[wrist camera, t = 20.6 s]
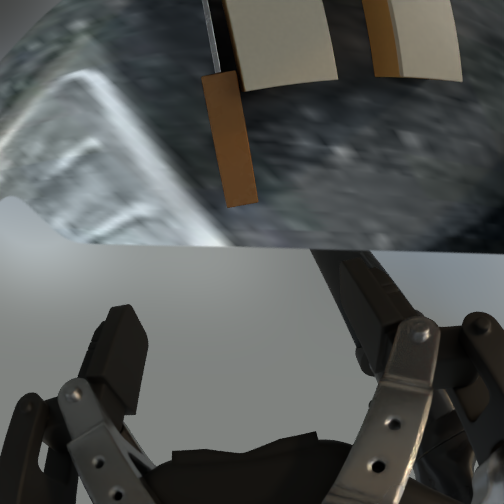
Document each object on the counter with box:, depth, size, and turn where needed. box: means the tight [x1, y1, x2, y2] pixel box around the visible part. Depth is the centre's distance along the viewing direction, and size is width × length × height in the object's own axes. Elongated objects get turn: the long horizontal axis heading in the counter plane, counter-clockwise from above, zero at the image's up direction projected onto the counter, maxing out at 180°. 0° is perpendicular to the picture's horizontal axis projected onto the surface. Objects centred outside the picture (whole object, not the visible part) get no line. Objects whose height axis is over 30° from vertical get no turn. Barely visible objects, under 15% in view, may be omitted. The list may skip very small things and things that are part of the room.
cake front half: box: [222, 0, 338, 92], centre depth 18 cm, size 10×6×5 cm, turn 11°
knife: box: [201, 0, 258, 208], centre depth 19 cm, size 22×2×4 cm, turn 9°
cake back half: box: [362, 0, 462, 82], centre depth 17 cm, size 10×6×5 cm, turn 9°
